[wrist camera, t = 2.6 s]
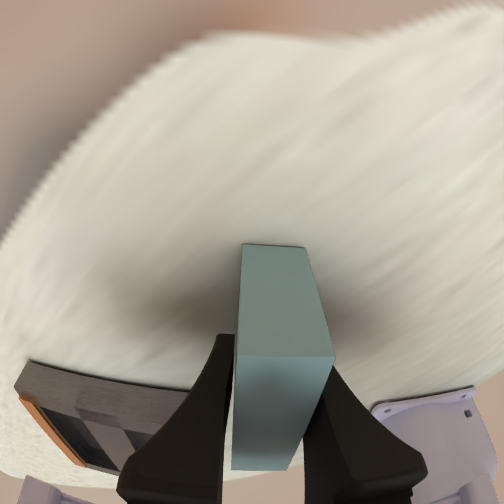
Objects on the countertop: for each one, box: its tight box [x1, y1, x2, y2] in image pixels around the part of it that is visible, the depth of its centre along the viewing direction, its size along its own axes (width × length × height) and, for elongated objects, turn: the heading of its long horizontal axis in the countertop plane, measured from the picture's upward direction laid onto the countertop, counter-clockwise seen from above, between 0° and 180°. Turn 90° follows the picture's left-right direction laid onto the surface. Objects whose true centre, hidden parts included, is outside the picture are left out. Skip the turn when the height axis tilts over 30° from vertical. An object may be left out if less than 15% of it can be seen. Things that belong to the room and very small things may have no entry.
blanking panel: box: [231, 244, 336, 471], centre depth 12 cm, size 2×8×6 cm, turn 176°
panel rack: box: [14, 362, 188, 476], centre depth 18 cm, size 13×13×3 cm
